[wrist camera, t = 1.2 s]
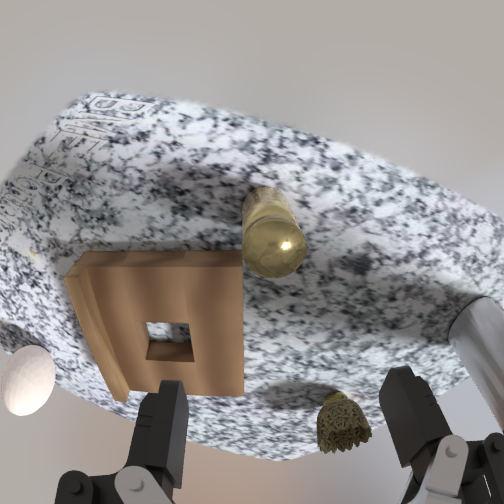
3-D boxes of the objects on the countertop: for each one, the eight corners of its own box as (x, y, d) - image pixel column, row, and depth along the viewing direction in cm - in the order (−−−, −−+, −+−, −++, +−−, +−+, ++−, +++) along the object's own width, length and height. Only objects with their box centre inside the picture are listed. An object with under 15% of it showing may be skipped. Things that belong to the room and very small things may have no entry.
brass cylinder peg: (289, 186, 26) (309, 220, 18) (287, 230, 27) (303, 277, 20) (241, 185, 25) (241, 220, 18) (241, 230, 27) (242, 278, 20)
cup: (304, 391, 38) (314, 439, 31) (356, 375, 38) (372, 422, 30) (314, 415, 42) (322, 458, 35) (359, 401, 41) (372, 443, 34)
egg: (18, 326, 32) (-20, 384, 22) (58, 339, 33) (23, 405, 23) (31, 361, 36) (2, 416, 25) (70, 373, 37) (43, 435, 26)
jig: (242, 250, 28) (242, 279, 24) (243, 377, 36) (244, 409, 32) (85, 251, 28) (63, 277, 23) (124, 371, 36) (114, 400, 31)
